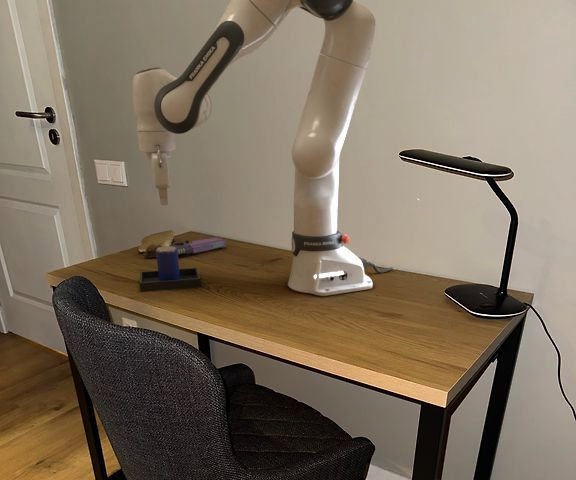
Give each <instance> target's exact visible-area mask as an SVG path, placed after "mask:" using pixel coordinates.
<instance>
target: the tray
mask: <svg viewBox="0 0 576 480" xmlns="http://www.w3.org/2000/svg"><path fill="white" fill-rule="evenodd" d="M179 272H180V280H167V281H159V275H158V269H157V270H143V271H139V289H140V292H154V291H165V290H181V289H193V288H194V289H195V288H202V281H201V276H200V272H199V269H198V267H186V268H179Z"/></svg>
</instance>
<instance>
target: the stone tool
mask: <svg viewBox="0 0 576 480" xmlns="http://www.w3.org/2000/svg"><path fill="white" fill-rule="evenodd" d="M174 238H175V231H174V230H173V229H170V230H164V231H160V232H155V233H151V234H148V235H147V236H144V237H143V238H142V239H141V241H140V242H141V244H140V245H139V246H138V247H137V250H138V252H140V253H143V257H145V258H147V259H151V258H156V250H157V248H159V247H163V246H171V245H172V242H173V240H174Z"/></svg>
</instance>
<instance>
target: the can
mask: <svg viewBox="0 0 576 480" xmlns="http://www.w3.org/2000/svg"><path fill="white" fill-rule="evenodd" d="M155 258H156V267H157V270H158V275H159V281H167V280H180V272H179V269H180V264H179V255H178V252H177V249H176V247H173V246H171V245H170V246H163V247H159V248H157V250H156V257H155Z"/></svg>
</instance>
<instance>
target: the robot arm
mask: <svg viewBox="0 0 576 480" xmlns="http://www.w3.org/2000/svg"><path fill="white" fill-rule="evenodd" d="M296 8H299V9H301V10H304V11H305V12H307V13H309V14H310V15H312V16H314V17H316V18H318V19H322V20H323V23H324V28H325V29H324V34H323V35H324V37H323V40H322V43H321V47H320V50H319V54H318V57H317V62H316V65H315V69H314V72H313V77H312V79H311V83H310V86H309V90H308V93H307V97H306V100H305V103H304V106H303V109H302V113H301V116H300V119H299V123H298V126H297V129H296V133H295V136H294V140H293V142H292V146H291V158H292V163H293V165H294V187H293V231H292V232H291V253H292V260H291V261H292V262H291V269H290V274H289V278H288V281H287V287H289V288H290V289H291V290H293V291H296V292H300V293H305V294H312V295H316V296H319V297H327V296H328V297H329V296H333V295H341V294H345V293H352V292H359V291H366V290H371V289H373V287H374V282H373V280H372V279H371V277H370V276H368V275H367V274H365V271H366V270H367V266H370V267H372V268H373V270H374V271H375V273H377V274H384V273H387V272H390V271H393V270H394V269H393V267H392V266H391V267H388V268H385V269H379V268H378V267H377V265H376V264H375V263H373V262H370V261H367V259H365V258H362V257H360V256H357V255H356V254H355V253H354V252H352V251H351V250H350V249H348V247H346V246H345V245H347V244H349V243H350V241H351V239H350V238H351V237H349V236H348V235H347V234H344V233H343V232H340V231H339V230H338V212H339V211H338V208H339V207H338V206H339V182H340V181H339V180H340V156H341V152H342V149H343V146H344V144H345V143H344V142H345V139H346V136H347V133H348V129H349V127H350V123H351V120H352V117H353V114H354V110H355V107H356V103H357V100H358V97H359V93H360V90H361V89H362V85H363V81H364V78H365V75H366V72H367V69H368V66H369V61H370V58H371V55H372V50H373V45H374V40H375V33H376V25H377V24H376V19H375V16H374V15H373V13H372V11H370V9H368V8H367V7H366V6H364V5H362V4H359V3H357V2H356V1H355V0H230V1H229V3H228V5H227V6H226V8H225V10H224V12H223V13H222V15H221V17H220V19H219V21H218V23H217V24H216V26H215V28H214V30H213V31H212V33H211V35H210V36H209V38H208V39H207V40H206V42H205V44H204V45H203V46H202V47H201V49H200V50H199V51H198V53H197V54H196V55H195V57H194V58H193V59H192V60H191V62H190V63H189V65H188V66H187V67H186V68H185V70H184V71H183V72H182V73H181V75H180V76H179V77H177V76H174V75H172V74H171V73H169V72H168V71H167V70H166V69H165V68H164V67H153V68H152V67H151V68H146V69H142V70H140V71H137V72H136V73H135V74H134V76H133V78H132V101H133V109H134V114H135V116H136V119H137V126H136V133H137V140H138V148H139V152H141V153H144V154H145V159H146V160H149V164H150V168H151V172H152V176H153V184H154V187H155V188H156V189H158V196H159V201H160V205H161V206H168V205H169V200H168V199H169V198H168V189H169V188H170V187H171V179H170V170H169V162H168V161H169V160H168V159H172V152H174V151H176V150H177V145H176V137H175V136H176V135H181V134H185V133H187V132H189V131H190V130H193V129H196V128H198V127H201V126H202V125H203V124H205V123H206V122H207V121H208V120H209V118H210V116H211V113H212V101H211V99H210V95H209V92H210V91H211V89H212V88H213V87H214V85H215V84H216V83H217V82H218V80H219V79H220V78H221V77H222V75H223V74H224V72H225V71H226V70H227V69H228V68H229V67H230V66H231V65H232V64H234V63H235V62H236V61H238V60H240V59H241V58H245V57H246V56H248V55H251V54H253V53H255V52H257V51H258V50H259V49H260V48H262V46H263V45H264V44H265V43H267V42H268V41H269V40H270V39H271V37H272V36H273V35H274V34H275V32H276V31H277V30H278V28H279V27H280V25H281V24H282V23H283V21H284V20H285V19H286V17H287V16H288V15H289V14H290V13H291V12H292V11H293V10H295V9H296ZM344 244H345V245H344Z"/></svg>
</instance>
